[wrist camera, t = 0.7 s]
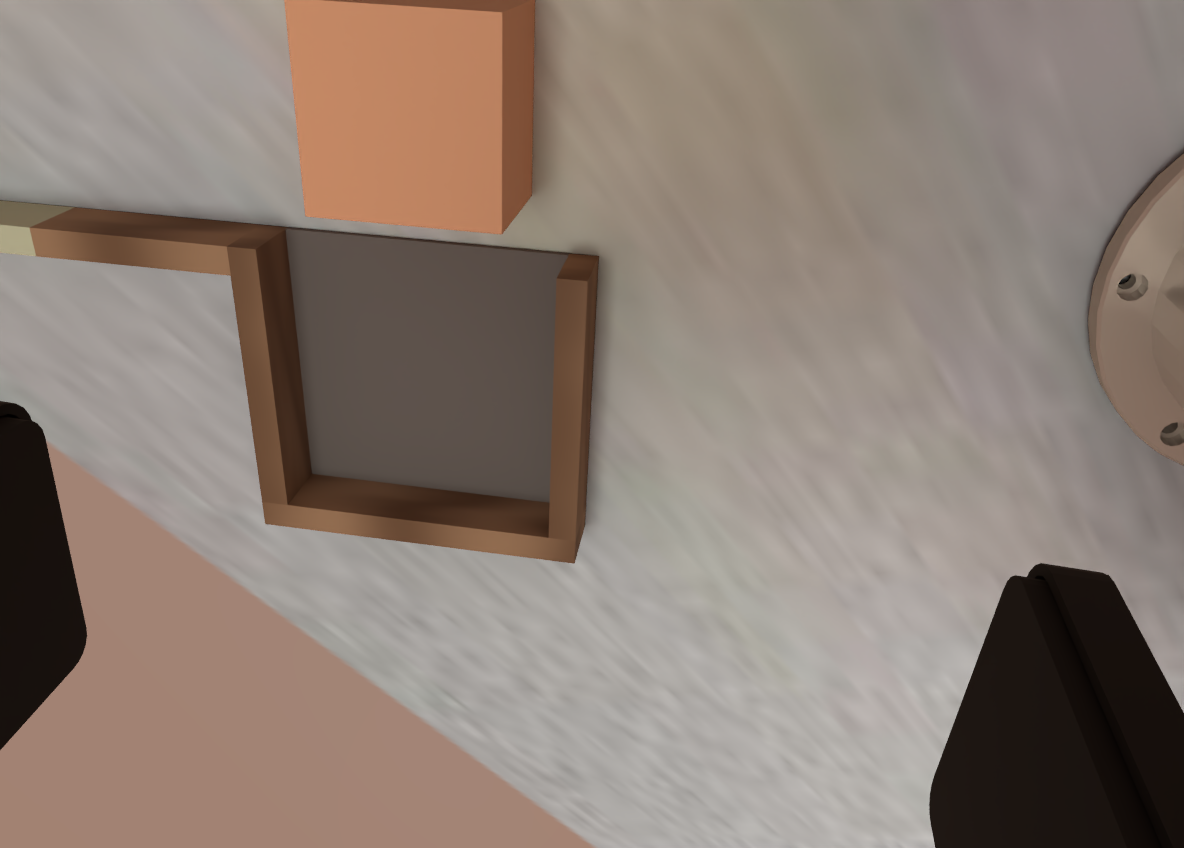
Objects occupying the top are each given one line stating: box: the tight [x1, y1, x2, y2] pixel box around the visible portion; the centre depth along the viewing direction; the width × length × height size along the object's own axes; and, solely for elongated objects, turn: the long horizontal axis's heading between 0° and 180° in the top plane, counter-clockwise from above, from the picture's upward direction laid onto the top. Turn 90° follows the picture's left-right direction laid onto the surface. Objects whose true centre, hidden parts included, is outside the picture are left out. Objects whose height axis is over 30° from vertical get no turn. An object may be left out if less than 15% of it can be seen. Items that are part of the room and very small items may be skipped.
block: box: [284, 0, 535, 234], centre depth 29 cm, size 6×6×4 cm
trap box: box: [0, 200, 599, 563], centre depth 30 cm, size 26×32×2 cm
